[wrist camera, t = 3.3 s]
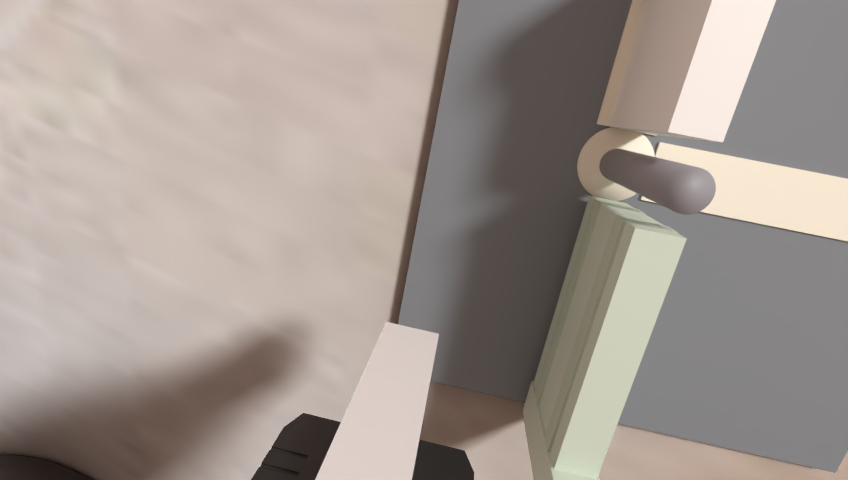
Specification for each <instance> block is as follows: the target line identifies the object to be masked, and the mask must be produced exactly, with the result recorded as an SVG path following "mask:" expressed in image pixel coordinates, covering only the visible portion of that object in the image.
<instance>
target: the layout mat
mask: <svg viewBox="0 0 848 480" xmlns="http://www.w3.org/2000/svg"><path fill="white" fill-rule="evenodd" d="M644 3H645V2H642V1H639V0H459V2H458V7H457V13H456V18H455V23H454V28H453V34H452V39H451V44H450V50H449V55H448V60H447V66H446V71H445V76H444V81H443V87H442V92H441V97H440V103H439V108H438V113H437V119H436V124H435V129H434V134H433V140H432V145H431V150H430V156H429V161H428V166H427V172H426V177H425V182H424V187H423V193H422V198H421V203H420V209H419V214H418V219H417V225H416V230H415V235H414V240H413V246H412V251H411V256H410V262H409V267H408V272H407V278H406V283H405V288H404V293H403V299H402V304H401V309H400V315H399V320H398V325H403V326H407V327H412V328H416V329H420V330H425V331H429V332H433V333H438V334H439V337H438V342H437V348H436V353H435V358H434V364H433V369H432V374H431V380H430V381H431V382H436V383H440V384H445V385H449V386H454V387H458V388H462V389H467V390H471V391H476V392H480V393H485V394H489V395H493V396H498V397H502V398H507V399H511V400H515V401H520V402H524V403H525V401H526V398H527V395H528V391H529V388H530V384H531V381H534V379H535V376H536V373H537V369H538V366H539V362H540V359H541V356H542V352H543V349H544V346H545V342H546V339H547V336H548V332H549V329H550V326H551V322H552V319H553V316H554V312H555V309H556V306H557V302H558V299H559V296H560V292H561V289H562V286H563V282H564V279H565V276H566V272H567V269H568V266H569V262H570V259H571V256H572V252H573V249H574V246H575V242H576V239H577V236H578V232H579V229H580V226H581V222H582V219H583V216H584V212H585V209H586V206H587V202H588V199H589V196H593V197H598V198H603V199H608V200H613V201H618V202H623V203H627V204H629V205H630V206H632V207H634V208H636V209H639V210H641V211H642V212H644V213H645V214H646V215H647V216H649V217H651V218H653V219H654V220H656V221H658V222H659V223H661V224H663V225H664V226H668V227H670V228H672V229H674V230H675V231H677V232H678V234H680V235H682V236H683V237H685V238H687V240H686V242H685V245H684V248H683V250H682V253H681V256H680V258H679V261H678V264H677V266H676V269H675V272H674V274H673V277H672V280H671V282H670V285H669V288H668V290H667V293H666V296H665V298H664V301H663V304H662V306H661V309H660V312H659V314H658V317H657V320H656V322H655V325H654V328H653V330H652V333H651V336H650V338H649V341H648V344H647V346H646V349H645V352H644V354H643V357H642V360H641V362H640V365H639V368H638V370H637V373H636V376H635V378H634V381H633V384H632V386H631V389H630V392H629V394H628V397H627V400H626V402H625V405H624V408H623V411H622V413H621V416H620V419H619V421H618V424H622V425H626V426H631V427H635V428H639V429H644V430H648V431H653V432H657V433H662V434H666V435H670V436H675V437H679V438H684V439H688V440H693V441H697V442H701V443H706V444H710V445H715V446H719V447H724V448H728V449H732V450H737V451H741V452H746V453H750V454H755V455H759V456H763V457H768V458H772V459H777V460H781V461H786V462H790V463H794V464H799V465H803V466H808V467H812V468H816V469H821V470H825V471H830V472H834V473H835V472H836V470H837V469H838V467H839V465H840V463H841V462H842V460H843V458H844V456H845V455H846V453H847V451H848V0H776V2H775V5H774V7H773V10H772V13H771V15H770V18H769V21H768V23H767V26H766V29H765V31H764V34H763V37H762V39H761V42H760V45H759V47H758V50H757V53H756V56H755V58H754V61H753V64H752V66H751V69H750V72H749V74H748V77H747V80H746V82H745V85H744V88H743V90H742V93H741V96H740V98H739V101H738V104H737V106H736V109H735V112H734V114H733V117H732V120H731V122H730V125H729V128H728V130H727V133H726V136H725V138H724V141H723V142H714V141H705V140H697V139H688V138H680V137H671V136H662V135H654V134H645V133H640V132H635V131H630V130H625V129H620V128H615V127H609V126H608V124H609V121H610V117H611V114H612V110H613V107H614V104H615V100H616V97H617V94H618V90H619V87H620V84H621V80H622V77H623V74H624V70H625V67H626V63H627V60H628V57H629V53H630V50H631V47H632V43H633V40H634V37H635V33H636V30H637V27H638V23H639V20H640V16H641V13H642V10H643V6H644ZM612 149H624V150H628V151H632V152H636V153H640V154H645V155H649V156H653V157H657V158H661V159H666V160H670V161H674V162H678V163H682V164H687V165H691V166H695V167H699V168H702V169H705V170H706V171H708V172H709V173H710V174H711V175H712V176H713V178H714V180H715V184H716V191H715V195H714V198H713V200H712V201H711V203H710V204H709V205H708V206H707V207H706V208H705V209H703V210H702V211H700V212H698V213H695V214H690V215H683V214H679V213H676V212H674V211H672V210H670V209H668V208H666V207H664V206H662V205H660V204H658V203H656V202H654V201H652V200H649V199H647V198H645V197H643V196H641V195H639V194H637V193H635V192H633V191H631V190H629V189H627V188H625V187H623V186H621V185H619V184H617V183H615V182H613V181H610V180H608V179H606V178H605V177H604V176H603V175H602V174H601V172H600V168H599V165H600V160H601V158H602V157H603V155H604V154H605V153H606V152H608V151H610V150H612Z"/></svg>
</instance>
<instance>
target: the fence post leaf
mask: <svg viewBox="0 0 848 480" xmlns="http://www.w3.org/2000/svg"><path fill="white" fill-rule="evenodd" d="M639 1H642V2H645V3H644V6H643V10H642V13H641V16H640V20H639V23H638V27H637V30H636V33H635V37H634V40H633V43H632V47H631V50H630V53H629V57H628V60H627V63H626V67H625V70H624V74H623V77H622V80H621V84H620V87H619V90H618V94H617V97H616V100H615V104H614V107H613V110H612V114H611V117H610V121H609V124H608V126H609V127H615V128H620V129H625V130H630V131H635V132H640V133H645V134H654V135H662V136H671V137H680V138H688V139H697V140H705V141H714V142H723V141H724V138H725V136H726V133H727V130H728V128H729V125H730V122H731V120H732V117H733V114H734V112H735V109H736V106H737V104H738V101H739V98H740V96H741V93H742V90H743V88H744V85H745V82H746V80H747V77H748V74H749V72H750V69H751V66H752V64H753V61H754V58H755V56H756V53H757V50H758V47H759V45H760V42H761V39H762V37H763V34H764V31H765V29H766V26H767V23H768V21H769V18H770V15H771V13H772V10H773V7H774V5H775V2H776V0H639ZM599 168H600V172H601V174H602V175H603V176H604V177H605V178H606V179H608V180H610V181H613V182H615V183H617V184H619V185H621V186H623V187H625V188H627V189H629V190H631V191H633V192H635V193H637V194H639V195H641V196H643V197H645V198H647V199H649V200H652V201H654V202H656V203H658V204H660V205H662V206H664V207H666V208H668V209H670V210H672V211H674V212H676V213H679V214H683V215H690V214H695V213H698V212H700V211H702V210H703V209H705V208H706V207H707V206H708V205H709V204H710V203H711V201H712V200H713V198H714V195H715V191H716V184H715V180H714V178H713V176H712V175H711V174H710V173H709V172H708V171H706V170H705V169H702V168H699V167H695V166H691V165H687V164H682V163H678V162H674V161H670V160H666V159H661V158H657V157H653V156H649V155H645V154H640V153H636V152H632V151H628V150H624V149H612V150H610V151H608V152H606V153H605V154H604V155H603V157H602V158H601V160H600V165H599Z"/></svg>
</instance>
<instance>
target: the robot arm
mask: <svg viewBox="0 0 848 480" xmlns="http://www.w3.org/2000/svg"><path fill="white" fill-rule="evenodd" d="M438 337H439V334H438V333H433V332H429V331H425V330H420V329H416V328H412V327H407V326H403V325H398V324H394V323H390V322H386V323H385V325H384V327H383V330H382V332H381V334H380V336H379V339H378V341H377V343H376V345H375V348H374V350H373V352H372V354H371V356H370V359H369V361H368V363H367V365H366V368H365V370H364V372H363V374H362V376H361V379H360V381H359V383H358V385H357V388H356V390H355V392H354V394H353V396H352V399H351V401H350V403H349V405H348V408H347V410H346V412H345V414H344V417H343V419H342V421H341V422H338V421H334V420H330V419H326V418H321V417H317V416H313V415H309V414H305V413H303V414H301V415H300V416H299V417H297V418H296V419H295V420H293V421H292V422H290V423H289V424H288V425H286V426H285V427H284V428H283V430H282V431H281V433H280V434H279V436H278V438H277V439H276V441H275V442H274V444H273V446H272V448H271V450H269V452H268V454H267V455H266V457H265V458H264V460H263V462H262V464H261V467H259V468H258V470H257V471H256V473H255V475H254V476H253V478H252V479H251V480H474V471H473V469H472V467H471V464H470V462H469V460H468V458H467V455H466V453H465V451H463V450H459V449H455V448H451V447H447V446H443V445H439V444H435V443H430V442H426V441H422V440H419V439H420V433H421V428H422V423H423V417H424V412H425V407H426V401H427V396H428V390H429V385H430V380H431V374H432V369H433V364H434V358H435V353H436V348H437V342H438ZM0 480H90V479H88V478H86V477H84V476H82V475H81V474H79V473H76V472H74V471H72V470H70V469H68V468H65V467H63V466H60V465H57V464H54V463H51V462H48V461H44V460H41V459H36V458H32V457H25V456H16V455H0Z"/></svg>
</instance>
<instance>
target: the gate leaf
mask: <svg viewBox="0 0 848 480" xmlns="http://www.w3.org/2000/svg"><path fill="white" fill-rule="evenodd" d="M686 240H687V238H685V237H683V236H682V235H680V234H678V232H677V231H675V230H674V229H672V228H670V227H668V226H664V225H663V224H661V223H659V222H658V221H656V220H654V219H653V218H651V217H649V216H647V215H646V214H645V213H644V212H642V211H641V210H639V209H636V208H634V207H632V206H630V205H629V204H627V203H623V202H618V201H613V200H608V199H603V198H598V197H593V196H589V199H588V202H587V206H586V209H585V212H584V216H583V219H582V222H581V226H580V229H579V232H578V236H577V239H576V242H575V246H574V249H573V252H572V256H571V259H570V262H569V266H568V269H567V272H566V276H565V279H564V282H563V286H562V289H561V292H560V296H559V299H558V302H557V306H556V309H555V312H554V316H553V319H552V322H551V326H550V329H549V332H548V336H547V339H546V342H545V346H544V349H543V352H542V356H541V359H540V362H539V366H538V369H537V373H536V376H535V379H534V381H531V384H530V388H529V391H528V395H527V398H526V401H525V405H524V408H523V411H522V412H523V418H524V424H525V430H526V436H527V442H528V448H529V454H530V459H531V465H532V471H533V477H534V480H600V479H599V476H598V475H599V472H600V469H601V467H602V464H603V461H604V459H605V456H606V453H607V451H608V448H609V445H610V443H611V440H612V437H613V435H614V432H615V429H616V427H617V424H618V421H619V419H620V416H621V413H622V411H623V408H624V405H625V402H626V400H627V397H628V394H629V392H630V389H631V386H632V384H633V381H634V378H635V376H636V373H637V370H638V368H639V365H640V362H641V360H642V357H643V354H644V352H645V349H646V346H647V344H648V341H649V338H650V336H651V333H652V330H653V328H654V325H655V322H656V320H657V317H658V314H659V312H660V309H661V306H662V304H663V301H664V298H665V296H666V293H667V290H668V288H669V285H670V282H671V280H672V277H673V274H674V272H675V269H676V266H677V264H678V261H679V258H680V256H681V253H682V250H683V248H684V245H685V242H686Z"/></svg>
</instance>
